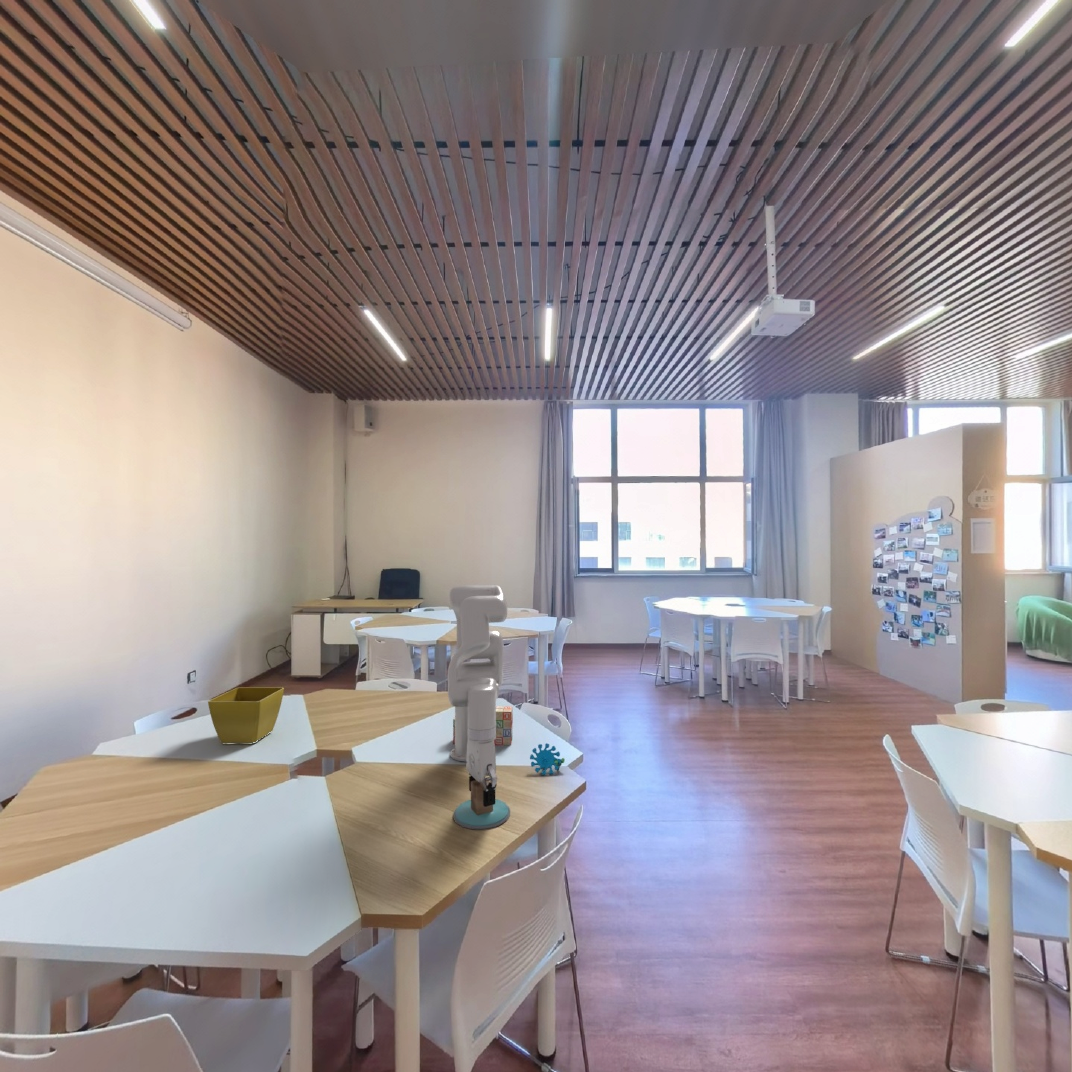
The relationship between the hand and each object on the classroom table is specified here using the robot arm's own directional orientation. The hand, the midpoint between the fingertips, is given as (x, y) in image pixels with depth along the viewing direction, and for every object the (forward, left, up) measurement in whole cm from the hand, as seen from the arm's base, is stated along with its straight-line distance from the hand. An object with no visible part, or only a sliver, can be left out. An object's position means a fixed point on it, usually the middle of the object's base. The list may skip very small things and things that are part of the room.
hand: (481, 797), depth 139 cm
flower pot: (-96, -55, -5) cm, 111 cm away
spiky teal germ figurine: (-15, +29, -5) cm, 33 cm away
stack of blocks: (-49, +21, -5) cm, 54 cm away
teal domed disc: (0, 0, -4) cm, 4 cm away
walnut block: (0, 0, -3) cm, 3 cm away
